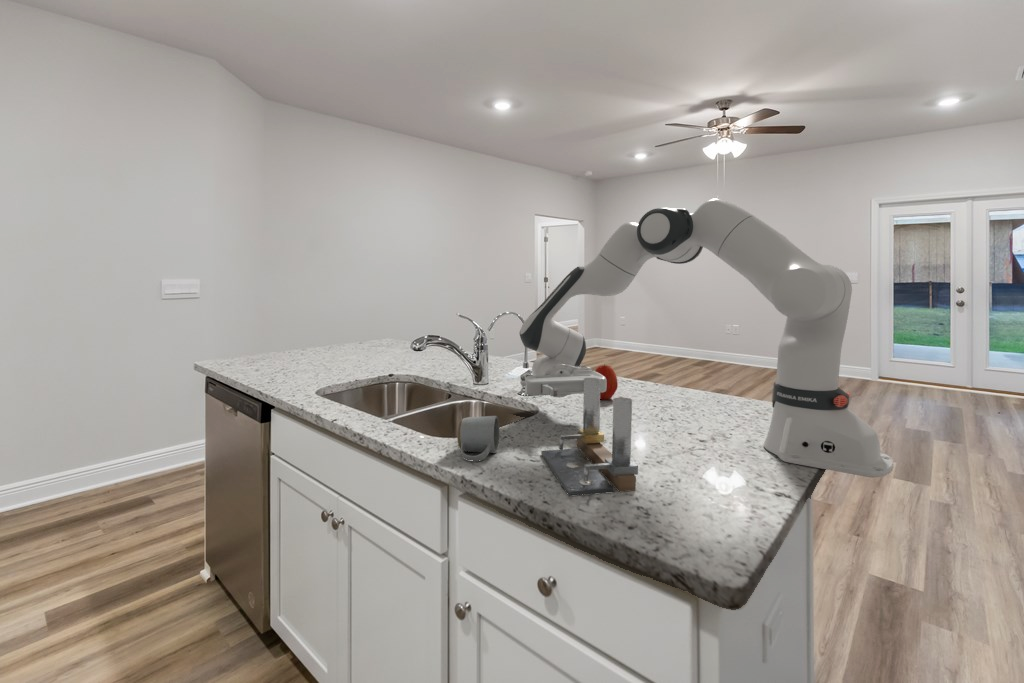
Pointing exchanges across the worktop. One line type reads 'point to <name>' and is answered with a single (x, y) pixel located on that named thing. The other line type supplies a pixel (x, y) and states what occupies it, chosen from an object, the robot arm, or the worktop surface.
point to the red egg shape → (608, 381)
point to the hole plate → (575, 472)
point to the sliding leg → (589, 415)
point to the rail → (598, 455)
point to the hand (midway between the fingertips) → (574, 391)
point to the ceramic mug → (478, 436)
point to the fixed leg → (619, 442)
